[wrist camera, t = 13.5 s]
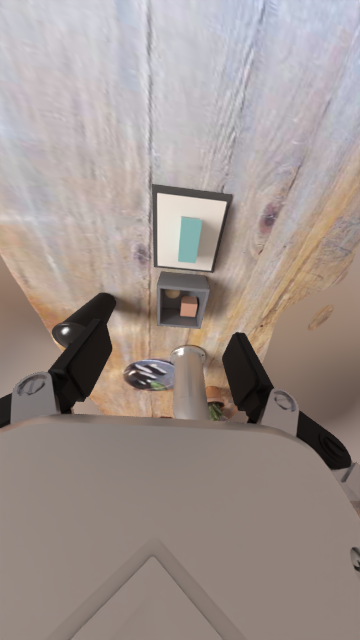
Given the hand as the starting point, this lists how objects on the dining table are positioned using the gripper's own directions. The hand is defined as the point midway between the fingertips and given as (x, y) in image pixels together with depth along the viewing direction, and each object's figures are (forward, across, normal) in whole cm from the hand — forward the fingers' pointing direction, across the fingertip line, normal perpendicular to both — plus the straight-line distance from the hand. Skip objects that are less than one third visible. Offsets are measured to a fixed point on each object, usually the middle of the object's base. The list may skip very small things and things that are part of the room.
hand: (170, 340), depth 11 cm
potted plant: (+26, -22, +56) cm, 66 cm away
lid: (+23, -2, -4) cm, 24 cm away
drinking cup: (+24, +17, +12) cm, 32 cm away
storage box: (+24, -2, +8) cm, 26 cm away
